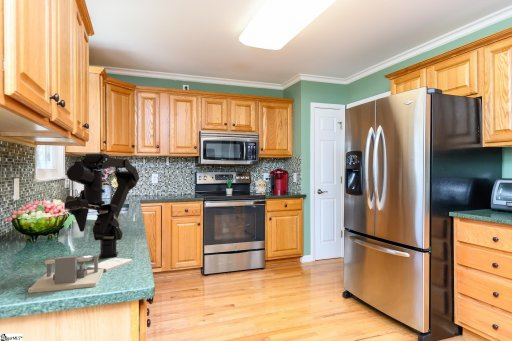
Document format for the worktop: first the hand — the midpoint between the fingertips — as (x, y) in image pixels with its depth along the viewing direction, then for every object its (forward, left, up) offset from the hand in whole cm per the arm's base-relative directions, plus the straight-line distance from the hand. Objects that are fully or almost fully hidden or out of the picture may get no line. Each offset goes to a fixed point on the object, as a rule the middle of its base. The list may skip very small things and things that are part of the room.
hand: (92, 232), depth 107 cm
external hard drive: (0, +6, -12) cm, 14 cm away
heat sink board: (+14, -3, -12) cm, 19 cm away
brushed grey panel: (+10, -3, -6) cm, 12 cm away
